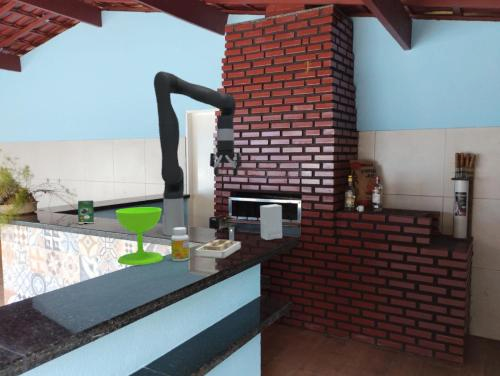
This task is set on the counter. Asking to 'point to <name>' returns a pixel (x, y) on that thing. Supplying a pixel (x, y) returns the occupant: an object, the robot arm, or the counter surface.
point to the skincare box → (271, 221)
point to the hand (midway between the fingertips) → (225, 176)
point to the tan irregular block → (218, 245)
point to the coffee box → (85, 211)
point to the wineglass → (139, 232)
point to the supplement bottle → (180, 244)
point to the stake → (231, 233)
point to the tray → (217, 254)
